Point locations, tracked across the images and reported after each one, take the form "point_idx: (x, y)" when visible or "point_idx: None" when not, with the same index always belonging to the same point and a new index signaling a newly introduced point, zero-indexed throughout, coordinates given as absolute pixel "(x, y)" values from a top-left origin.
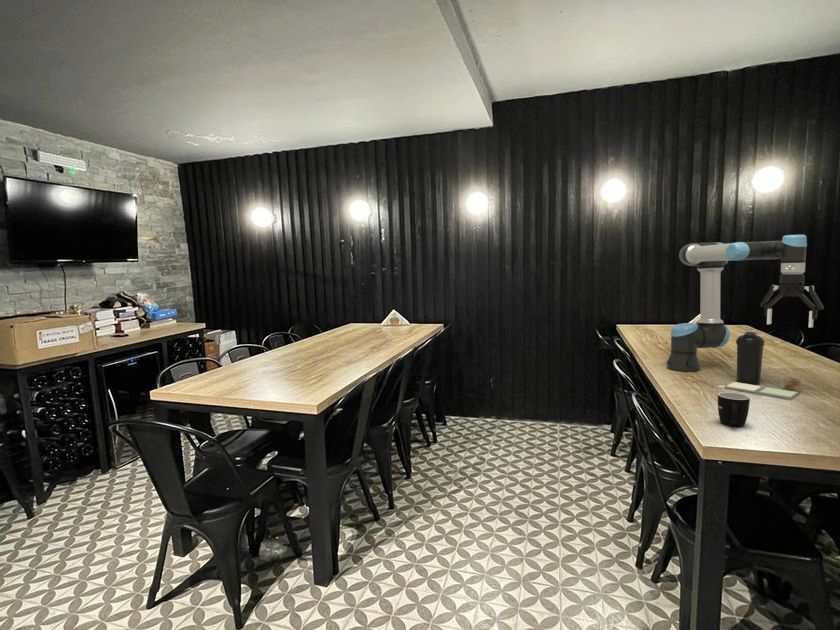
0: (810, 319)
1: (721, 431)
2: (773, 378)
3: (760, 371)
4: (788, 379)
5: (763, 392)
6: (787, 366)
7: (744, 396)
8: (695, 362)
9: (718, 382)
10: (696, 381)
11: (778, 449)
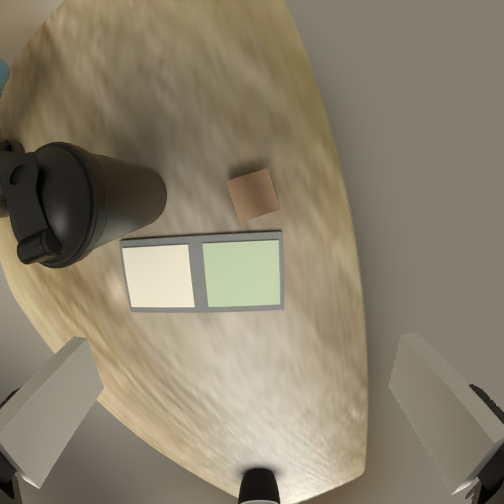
0: (426, 430)
1: None
2: (169, 83)
3: (152, 195)
4: (244, 208)
5: (217, 306)
6: None
7: (269, 499)
8: None
9: (94, 254)
10: (66, 285)
11: (321, 490)
